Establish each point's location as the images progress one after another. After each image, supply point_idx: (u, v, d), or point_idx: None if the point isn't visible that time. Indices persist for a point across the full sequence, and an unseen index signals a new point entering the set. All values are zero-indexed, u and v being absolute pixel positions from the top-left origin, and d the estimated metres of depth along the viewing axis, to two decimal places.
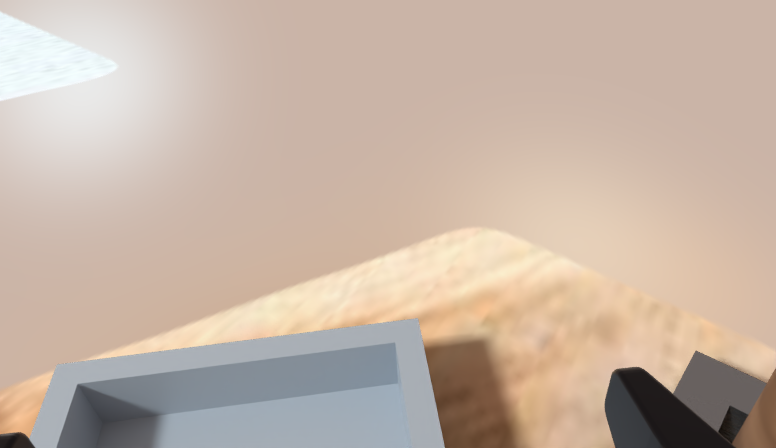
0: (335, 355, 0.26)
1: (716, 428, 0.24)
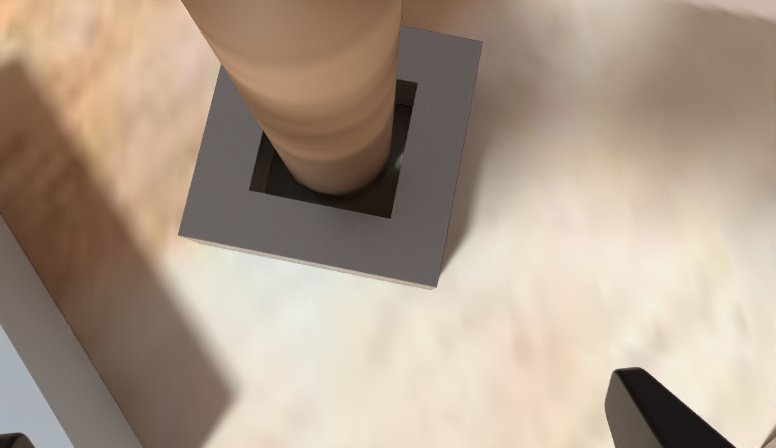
0: None
1: None
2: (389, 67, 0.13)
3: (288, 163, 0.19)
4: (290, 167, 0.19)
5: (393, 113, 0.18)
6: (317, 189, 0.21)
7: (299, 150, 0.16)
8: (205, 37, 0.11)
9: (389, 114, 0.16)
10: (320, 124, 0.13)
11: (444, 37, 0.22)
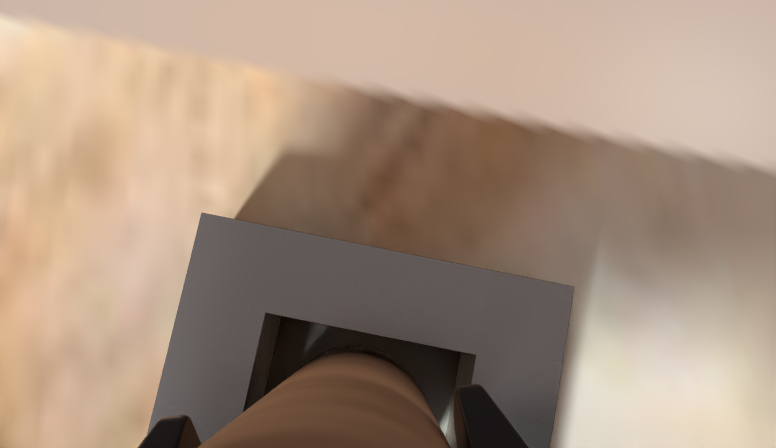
0: None
1: (247, 371, 0.14)
2: None
3: None
4: None
5: None
6: None
7: None
8: None
9: None
10: None
11: (515, 279, 0.14)
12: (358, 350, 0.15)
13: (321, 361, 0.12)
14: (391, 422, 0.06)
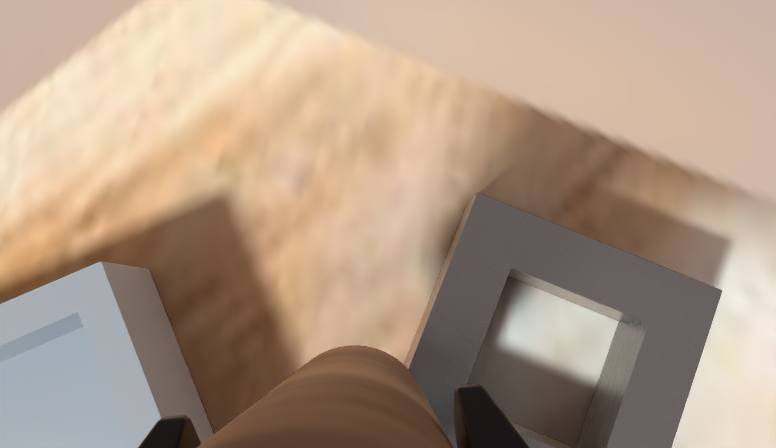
0: (2, 346, 0.19)
1: (494, 304, 0.20)
2: None
3: None
4: None
5: None
6: None
7: None
8: None
9: None
10: None
11: (682, 278, 0.21)
12: (359, 349, 0.15)
13: (322, 360, 0.12)
14: (394, 419, 0.06)
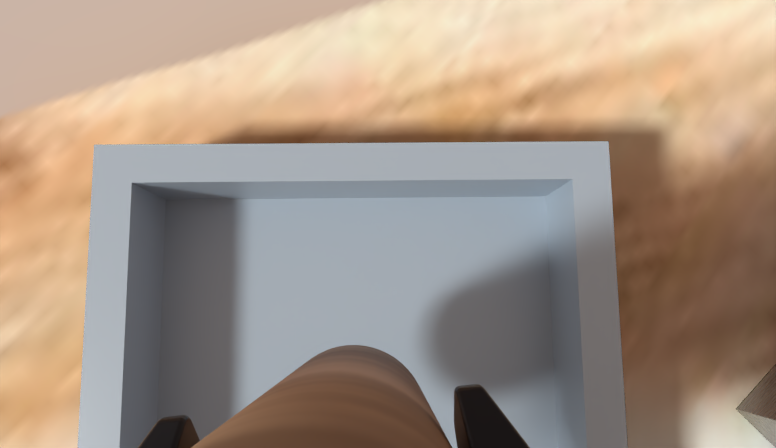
0: (485, 182, 0.19)
1: None
2: None
3: None
4: None
5: None
6: None
7: None
8: None
9: None
10: None
11: None
12: (358, 348, 0.15)
13: (321, 359, 0.12)
14: (391, 418, 0.06)
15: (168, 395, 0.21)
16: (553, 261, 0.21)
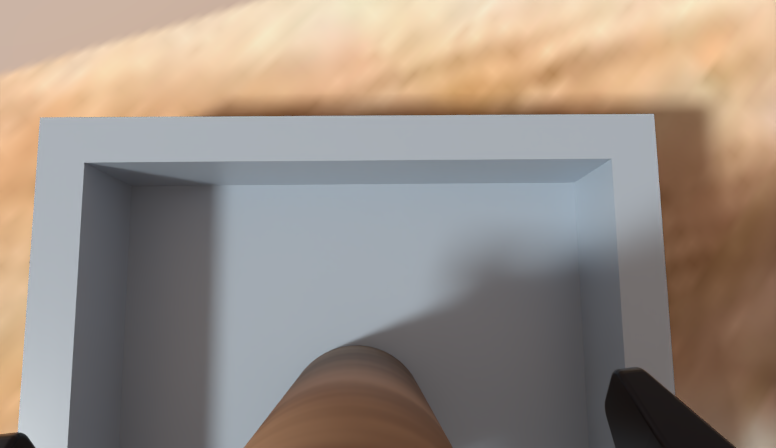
0: (507, 162, 0.16)
1: None
2: None
3: None
4: None
5: None
6: None
7: None
8: None
9: None
10: None
11: None
12: (362, 350, 0.16)
13: (331, 363, 0.14)
14: (407, 431, 0.08)
15: (133, 415, 0.17)
16: (584, 258, 0.18)
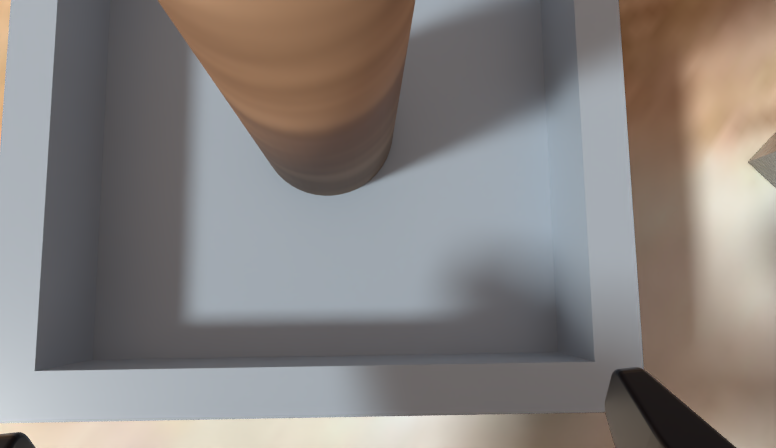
0: None
1: None
2: None
3: (257, 138, 0.14)
4: (261, 145, 0.14)
5: None
6: (298, 175, 0.16)
7: (269, 115, 0.11)
8: None
9: (401, 65, 0.11)
10: (298, 65, 0.08)
11: None
12: None
13: None
14: None
15: (115, 131, 0.18)
16: None
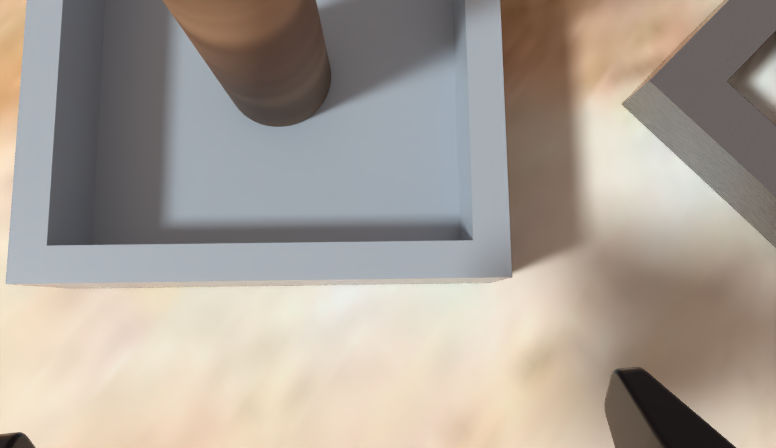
0: None
1: None
2: None
3: (209, 62, 0.18)
4: (213, 70, 0.19)
5: (315, 9, 0.18)
6: (247, 101, 0.20)
7: (203, 28, 0.15)
8: None
9: None
10: None
11: None
12: None
13: None
14: None
15: (110, 76, 0.23)
16: None
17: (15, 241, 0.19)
